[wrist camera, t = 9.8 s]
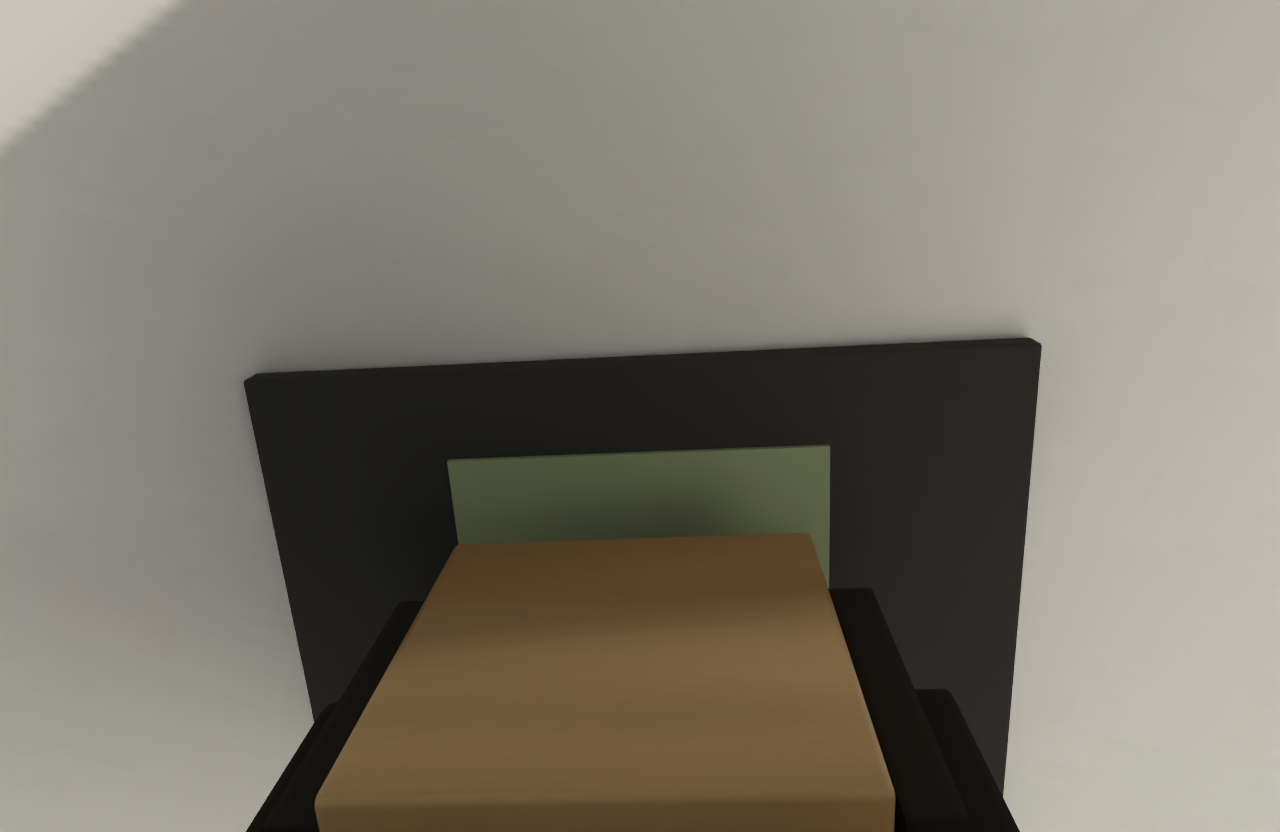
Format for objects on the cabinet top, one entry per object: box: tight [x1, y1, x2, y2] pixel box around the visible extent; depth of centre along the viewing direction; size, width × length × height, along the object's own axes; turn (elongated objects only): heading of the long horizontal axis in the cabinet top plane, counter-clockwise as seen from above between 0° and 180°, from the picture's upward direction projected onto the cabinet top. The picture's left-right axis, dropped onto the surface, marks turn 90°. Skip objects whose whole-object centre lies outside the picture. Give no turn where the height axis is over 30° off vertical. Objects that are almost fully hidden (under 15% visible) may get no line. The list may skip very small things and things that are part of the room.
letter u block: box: [315, 533, 896, 832], centre depth 9 cm, size 4×4×5 cm
